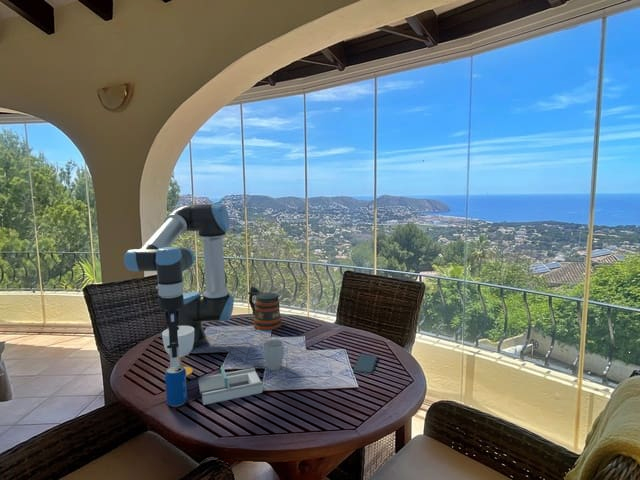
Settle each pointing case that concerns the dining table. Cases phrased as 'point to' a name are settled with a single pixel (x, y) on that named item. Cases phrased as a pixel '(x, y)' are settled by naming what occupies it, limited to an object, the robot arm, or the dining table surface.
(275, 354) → the cup
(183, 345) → the cup
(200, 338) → the robot arm
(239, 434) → the dining table surface
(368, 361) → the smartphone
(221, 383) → the shutter
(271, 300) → the beer stein
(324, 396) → the dining table surface
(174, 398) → the beverage can
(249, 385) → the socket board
